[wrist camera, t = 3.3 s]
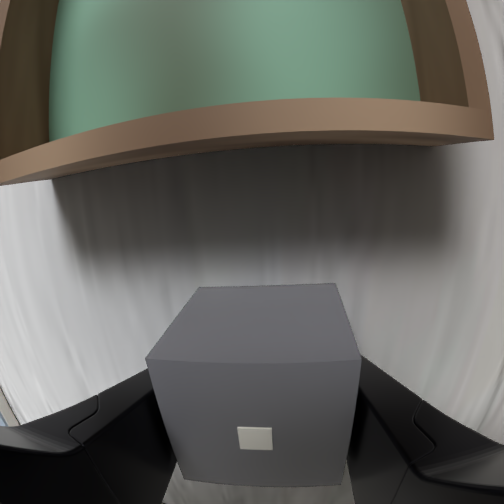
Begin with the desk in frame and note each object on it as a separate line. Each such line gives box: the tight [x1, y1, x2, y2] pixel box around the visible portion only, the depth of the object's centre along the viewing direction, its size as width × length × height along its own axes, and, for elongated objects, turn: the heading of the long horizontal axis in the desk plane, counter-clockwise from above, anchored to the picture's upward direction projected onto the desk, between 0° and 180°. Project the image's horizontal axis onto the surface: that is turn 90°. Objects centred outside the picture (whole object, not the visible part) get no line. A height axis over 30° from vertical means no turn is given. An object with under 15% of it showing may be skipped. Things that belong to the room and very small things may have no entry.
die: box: [145, 283, 362, 487], centre depth 8 cm, size 4×4×4 cm
